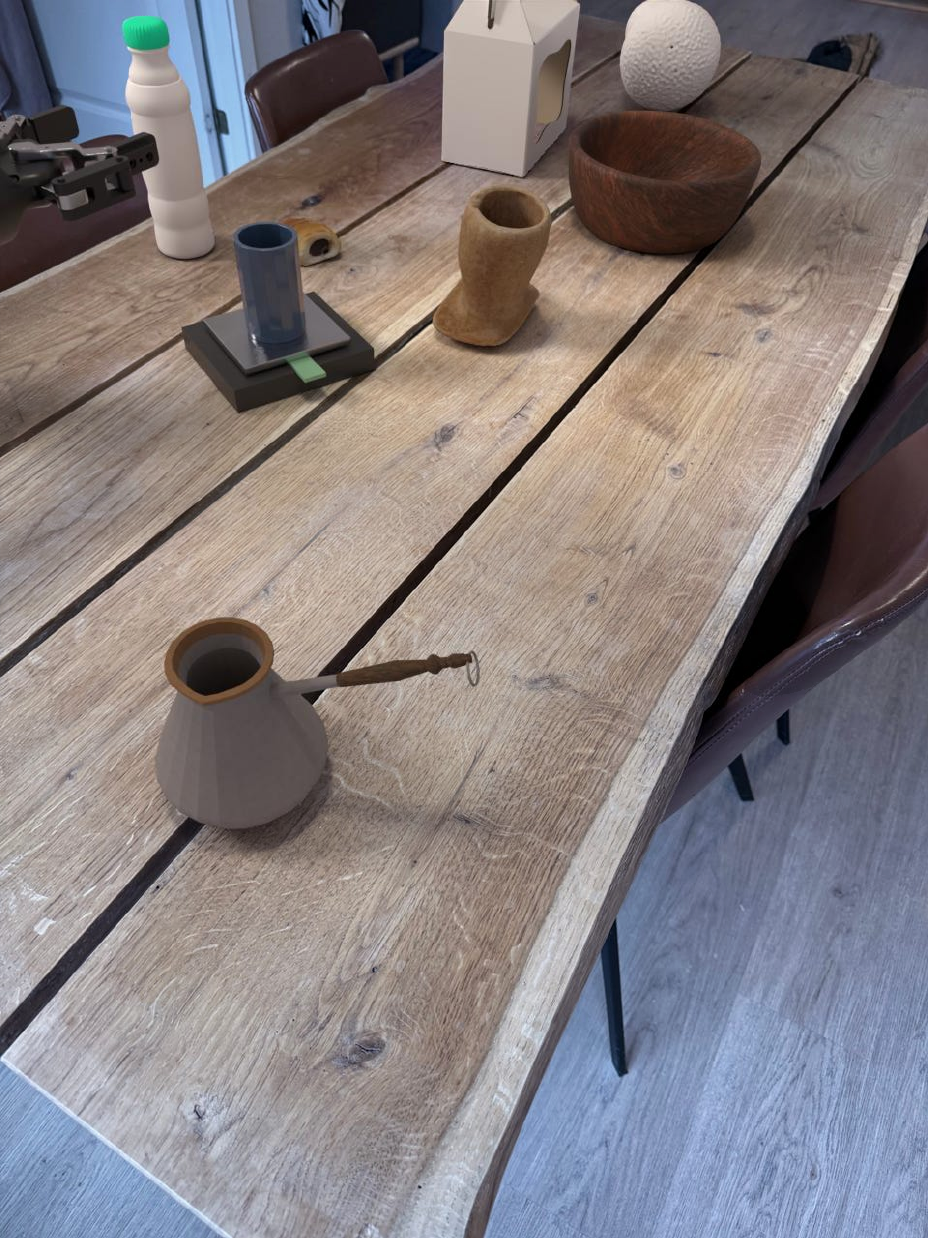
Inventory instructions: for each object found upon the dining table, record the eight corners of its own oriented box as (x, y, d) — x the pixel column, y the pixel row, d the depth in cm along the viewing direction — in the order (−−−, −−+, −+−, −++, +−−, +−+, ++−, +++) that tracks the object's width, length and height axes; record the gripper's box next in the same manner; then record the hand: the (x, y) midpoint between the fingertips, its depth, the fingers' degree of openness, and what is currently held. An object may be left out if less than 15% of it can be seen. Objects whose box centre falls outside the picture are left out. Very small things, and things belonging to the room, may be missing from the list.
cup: (262, 349, 93) (248, 255, 86) (237, 322, 97) (222, 229, 89) (316, 334, 96) (308, 241, 88) (290, 308, 99) (280, 216, 92)
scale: (246, 423, 91) (241, 398, 89) (185, 348, 100) (180, 324, 97) (384, 378, 97) (383, 354, 95) (316, 311, 106) (314, 288, 104)
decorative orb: (658, 136, 147) (679, 22, 135) (578, 104, 156) (591, -6, 144) (731, 109, 157) (757, 1, 145) (652, 81, 165) (671, -24, 153)
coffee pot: (140, 838, 60) (78, 701, 49) (191, 700, 67) (147, 554, 56) (462, 871, 59) (473, 739, 48) (476, 727, 67) (488, 586, 56)
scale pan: (246, 375, 91) (244, 368, 91) (203, 325, 97) (202, 318, 97) (351, 343, 96) (350, 337, 95) (304, 298, 102) (303, 291, 101)
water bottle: (223, 254, 114) (186, 25, 96) (168, 265, 112) (119, 32, 93) (204, 231, 118) (165, 7, 100) (151, 241, 116) (101, 13, 97)
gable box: (490, 114, 151) (502, -97, 130) (566, 128, 148) (591, -86, 127) (440, 162, 136) (445, -67, 116) (523, 179, 134) (543, -53, 113)
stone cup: (517, 365, 100) (530, 231, 89) (419, 339, 103) (420, 205, 92) (562, 304, 109) (579, 175, 98) (472, 281, 112) (478, 154, 101)
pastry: (267, 239, 118) (264, 209, 115) (314, 228, 120) (312, 199, 117) (299, 269, 112) (297, 239, 110) (347, 258, 115) (346, 228, 112)
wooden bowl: (648, 283, 114) (664, 200, 106) (523, 209, 127) (530, 130, 119) (779, 236, 124) (803, 157, 116) (652, 171, 137) (665, 97, 130)
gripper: (-28, 175, 53) (172, 99, 63) (-173, 118, 58) (33, 56, 68) (14, 294, 59) (192, 208, 68) (-122, 233, 64) (62, 161, 73)
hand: (112, 132), depth 68 cm, fingers open, 8 cm apart
